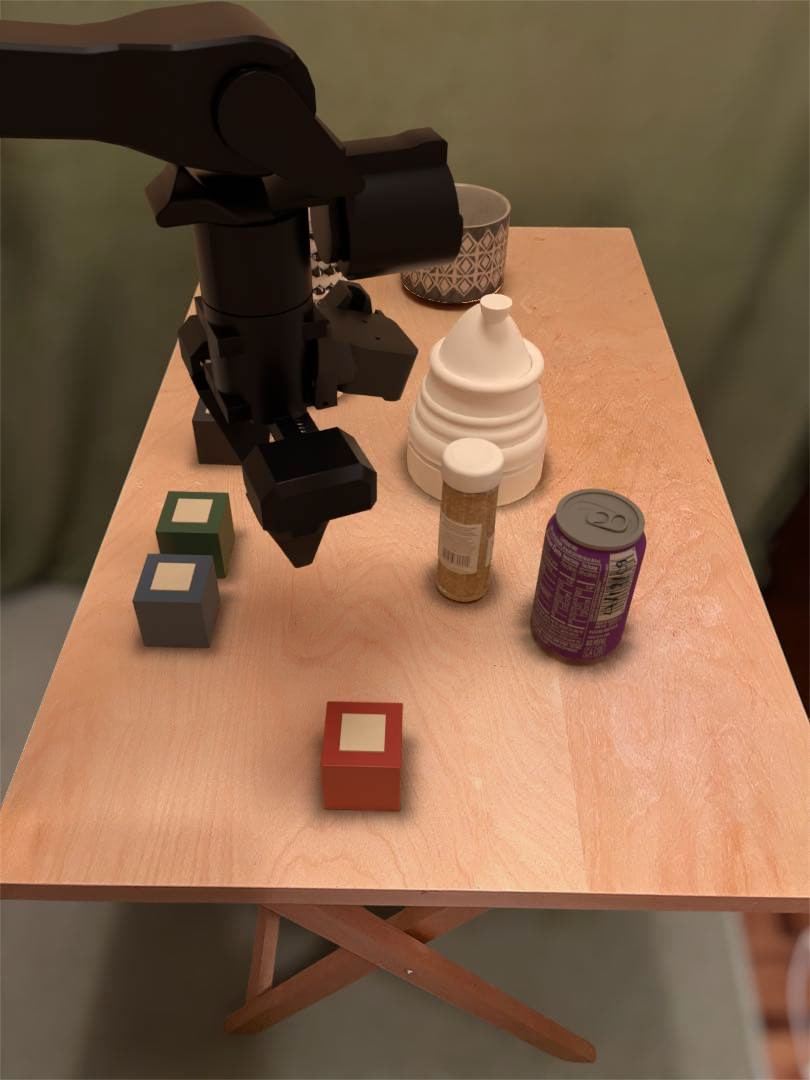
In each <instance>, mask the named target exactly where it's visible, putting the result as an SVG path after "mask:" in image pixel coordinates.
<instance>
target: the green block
mask: <svg viewBox="0 0 810 1080" xmlns="http://www.w3.org/2000/svg"><path fill="white" fill-rule="evenodd" d="M154 533H155V537H156V541H157V547H158V550H159V551H158V552H159V554H178V555H212V556H213V560H214V566H215V572H216V578H217V579H225V578H226V577H227V573H228V569H229V565H230V561H231V556H232V551H233V548H234V543H235V538H236V535H235V534H236V533H235V527H234V519H233V514H232V506H231V499H230V493H229V492H222V491H221V492H218V491H211V492H210V491H186V490H185V491H183V490H182V491H181V490H168V491H167V494H166V497H165V500H164V503H163V506H162V509H161V511H160V515H159V518H158V521H157V524H156V528H155V530H154ZM226 579H227V578H226Z"/></svg>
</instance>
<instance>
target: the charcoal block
mask: <svg viewBox="0 0 810 1080" xmlns="http://www.w3.org/2000/svg"><path fill="white" fill-rule="evenodd" d="M191 425H192V430H193V437H194V442H195V448H196V449H195V450H196V454H197V460H198V464H200V465H204V464H205V465H206V464H207V465H234V466H235V465H236V466H237V465H238V466H239V465H240V466H241V462H240V460H239V458H238V457H237V455H236V454H235V452H234V450H233V449H232V447H231V446H230V444H229V442H228V441H227V439H226V438H225V436H224V434H223V433H222V431H221V430H220V428H219V426H218V425H217V423H216V422H215V420H214V418H213V417H212V416H211V414H210V412H209V411H208V409H207V408H206V406H205V404H204V403H203V401H202V400H201V398H200V396H198V400H197V403H196V406H195V409H194V412H193V415H192V419H191Z"/></svg>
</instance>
